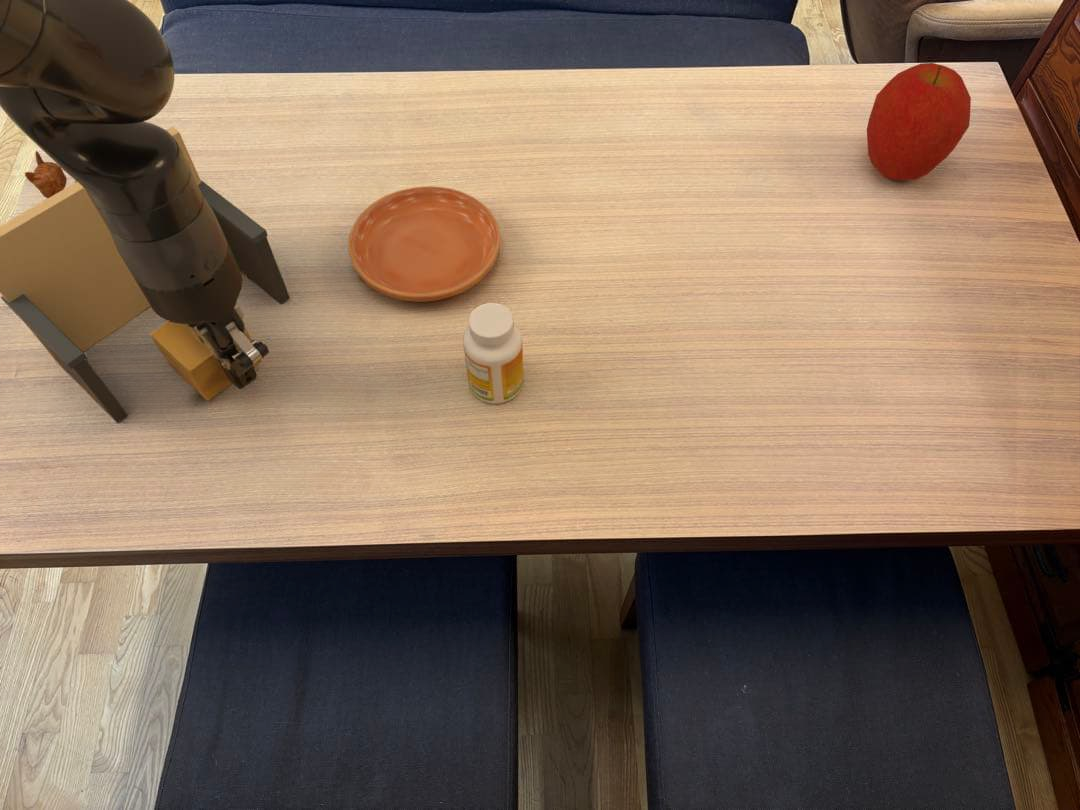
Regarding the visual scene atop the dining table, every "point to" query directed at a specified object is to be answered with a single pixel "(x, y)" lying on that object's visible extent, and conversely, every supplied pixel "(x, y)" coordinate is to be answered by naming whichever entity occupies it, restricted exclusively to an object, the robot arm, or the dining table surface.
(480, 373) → the supplement bottle
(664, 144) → the dining table surface
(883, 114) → the apple
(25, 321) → the small wooden bench
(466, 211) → the saucer
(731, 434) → the dining table surface
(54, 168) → the cat figurine
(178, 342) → the box
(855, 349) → the dining table surface
